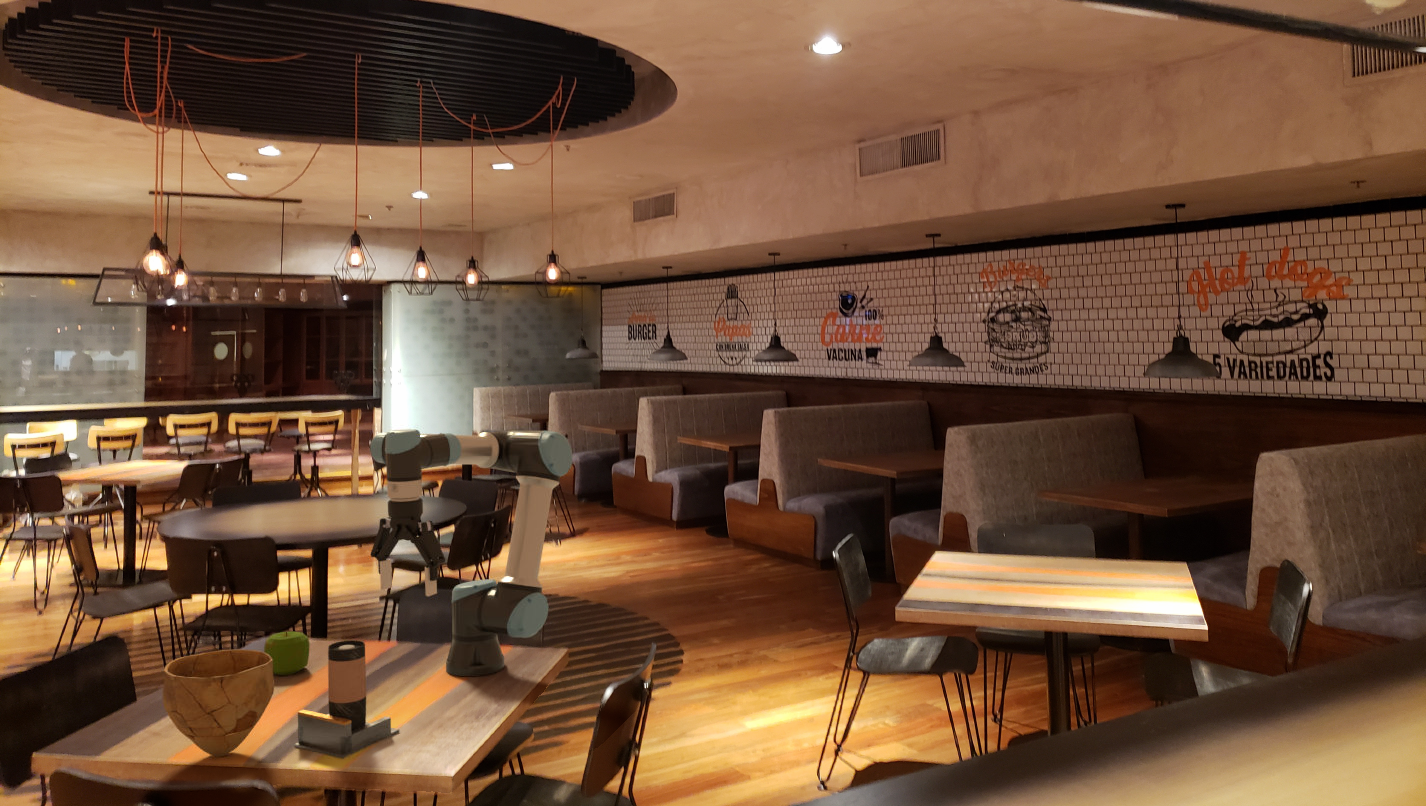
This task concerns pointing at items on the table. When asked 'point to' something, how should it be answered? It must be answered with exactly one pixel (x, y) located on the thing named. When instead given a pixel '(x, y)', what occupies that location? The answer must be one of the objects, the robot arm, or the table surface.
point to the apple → (287, 652)
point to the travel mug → (347, 682)
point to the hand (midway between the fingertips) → (408, 591)
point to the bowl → (218, 696)
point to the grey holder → (339, 734)
